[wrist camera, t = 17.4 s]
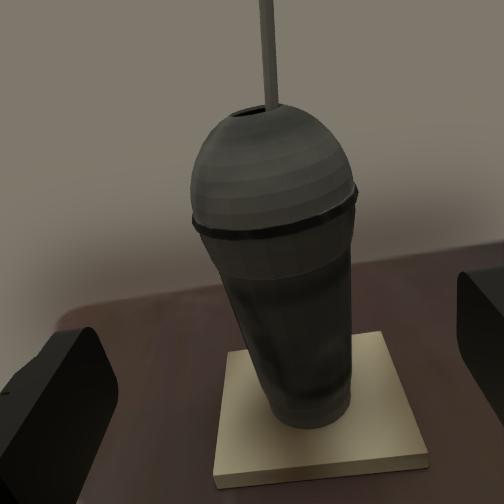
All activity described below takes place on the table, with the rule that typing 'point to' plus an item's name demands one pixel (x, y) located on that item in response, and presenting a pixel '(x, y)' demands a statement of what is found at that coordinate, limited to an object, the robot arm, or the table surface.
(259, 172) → the beverage cup
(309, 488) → the table surface
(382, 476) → the table surface
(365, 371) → the birch coaster
